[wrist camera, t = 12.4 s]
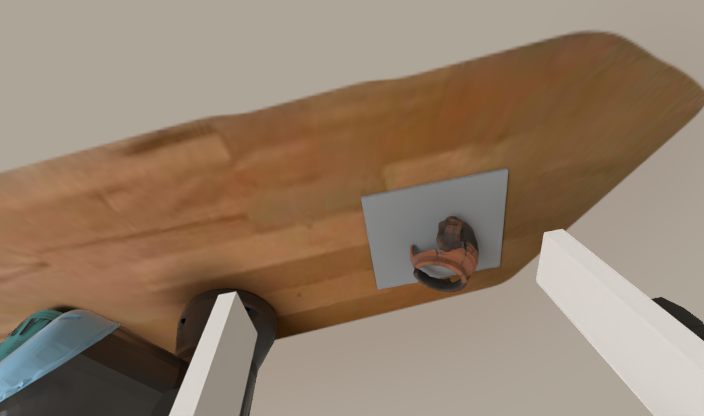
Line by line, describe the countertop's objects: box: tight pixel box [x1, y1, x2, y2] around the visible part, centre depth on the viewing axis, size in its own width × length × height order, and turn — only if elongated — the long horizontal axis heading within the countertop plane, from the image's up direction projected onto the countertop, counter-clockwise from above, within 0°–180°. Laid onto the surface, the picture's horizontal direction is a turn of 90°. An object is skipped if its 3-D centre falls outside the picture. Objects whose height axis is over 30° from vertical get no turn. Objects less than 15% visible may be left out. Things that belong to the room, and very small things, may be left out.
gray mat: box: [361, 168, 508, 290], centre depth 45 cm, size 20×17×1 cm
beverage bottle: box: [0, 310, 64, 362], centre depth 38 cm, size 6×7×20 cm
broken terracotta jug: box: [410, 216, 479, 292], centre depth 42 cm, size 12×10×8 cm
